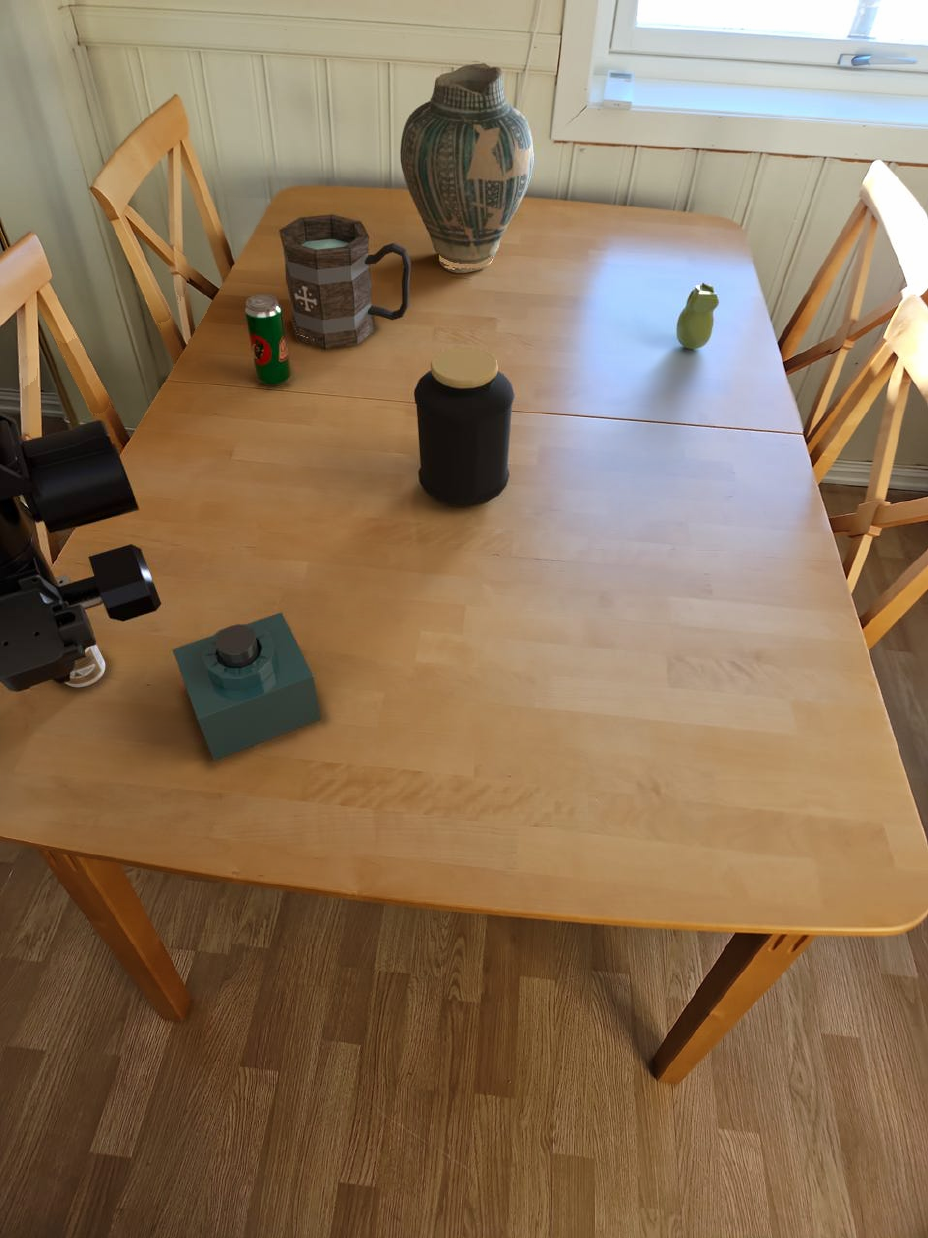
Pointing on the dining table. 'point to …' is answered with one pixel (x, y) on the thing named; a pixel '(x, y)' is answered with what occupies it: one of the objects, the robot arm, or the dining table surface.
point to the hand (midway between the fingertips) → (64, 679)
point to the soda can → (268, 339)
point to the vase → (467, 163)
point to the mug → (334, 280)
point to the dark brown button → (237, 646)
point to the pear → (697, 317)
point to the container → (464, 427)
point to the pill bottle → (87, 668)
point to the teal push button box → (249, 689)
